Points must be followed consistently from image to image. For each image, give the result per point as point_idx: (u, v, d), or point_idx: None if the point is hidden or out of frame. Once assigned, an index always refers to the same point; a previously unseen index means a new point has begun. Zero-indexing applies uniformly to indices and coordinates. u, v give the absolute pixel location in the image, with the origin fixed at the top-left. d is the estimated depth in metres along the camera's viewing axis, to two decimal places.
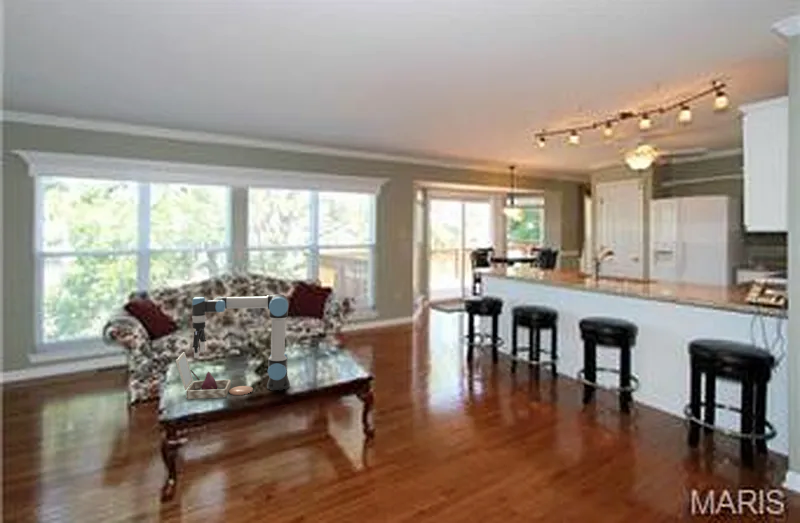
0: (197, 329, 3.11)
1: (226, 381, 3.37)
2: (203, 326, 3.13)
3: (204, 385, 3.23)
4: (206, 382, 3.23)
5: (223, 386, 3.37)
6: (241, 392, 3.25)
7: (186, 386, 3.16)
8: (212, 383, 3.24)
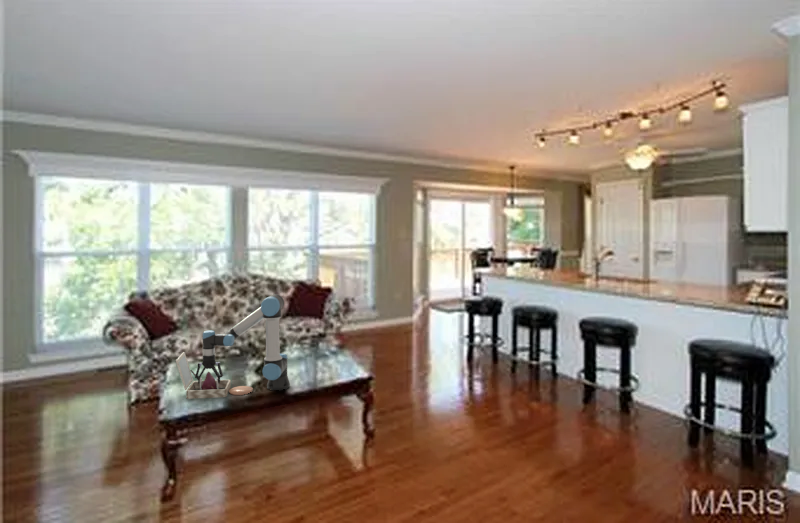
0: None
1: (226, 381, 3.37)
2: (205, 359, 3.22)
3: (204, 385, 3.23)
4: (206, 382, 3.23)
5: (223, 386, 3.37)
6: (241, 392, 3.25)
7: (186, 386, 3.16)
8: (212, 383, 3.24)
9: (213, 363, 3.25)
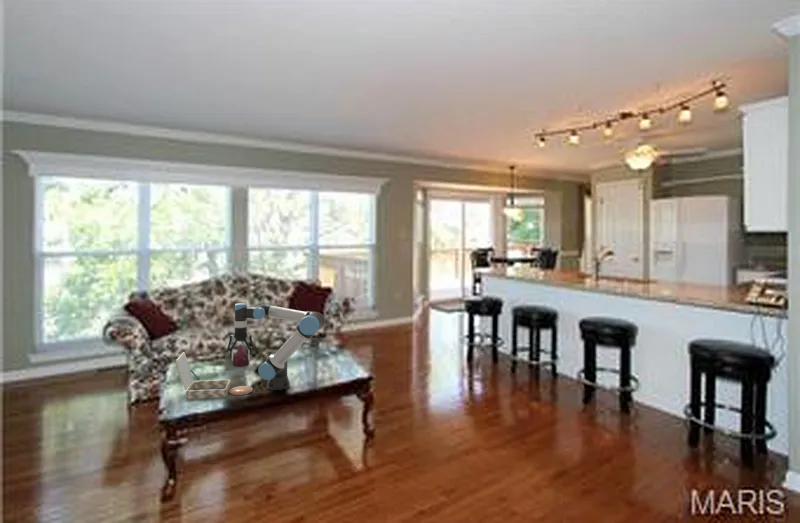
0: None
1: (226, 381, 3.37)
2: (237, 331, 3.24)
3: (236, 357, 3.25)
4: (238, 354, 3.26)
5: (223, 386, 3.37)
6: (241, 392, 3.25)
7: (186, 386, 3.16)
8: (244, 355, 3.26)
9: (245, 335, 3.27)
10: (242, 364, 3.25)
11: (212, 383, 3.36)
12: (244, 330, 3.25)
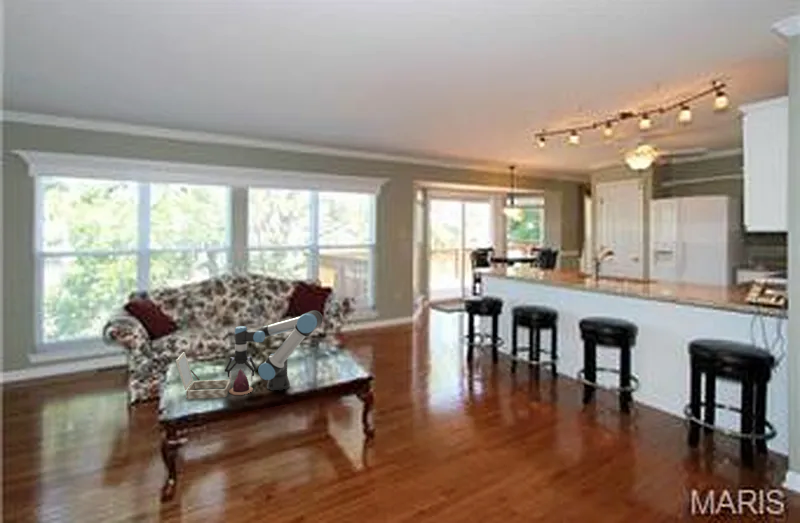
0: None
1: (226, 381, 3.37)
2: (237, 355, 3.25)
3: (236, 382, 3.27)
4: (238, 379, 3.27)
5: (223, 386, 3.37)
6: (241, 392, 3.25)
7: (186, 386, 3.16)
8: (244, 380, 3.28)
9: (245, 358, 3.28)
10: (242, 389, 3.26)
11: (212, 383, 3.36)
12: (244, 353, 3.27)
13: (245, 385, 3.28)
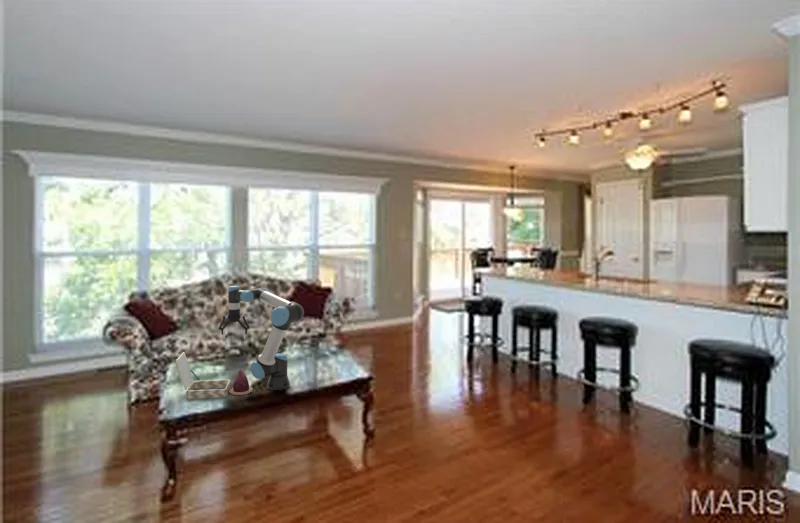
0: None
1: (226, 381, 3.37)
2: (230, 313, 3.37)
3: (236, 382, 3.26)
4: (238, 379, 3.27)
5: (223, 386, 3.37)
6: (241, 392, 3.25)
7: (186, 386, 3.16)
8: (244, 380, 3.28)
9: (238, 317, 3.40)
10: (242, 389, 3.26)
11: (212, 383, 3.36)
12: (237, 312, 3.38)
13: (245, 385, 3.28)
